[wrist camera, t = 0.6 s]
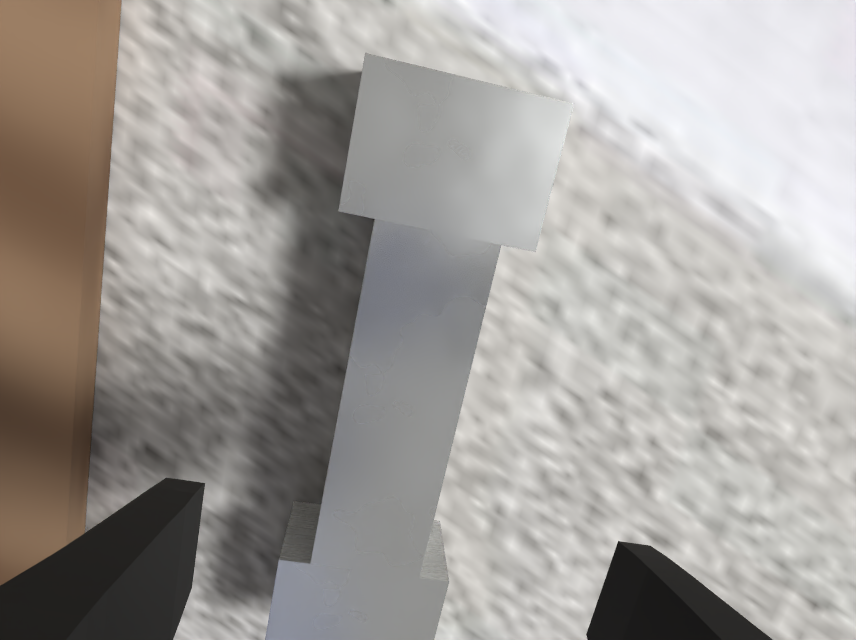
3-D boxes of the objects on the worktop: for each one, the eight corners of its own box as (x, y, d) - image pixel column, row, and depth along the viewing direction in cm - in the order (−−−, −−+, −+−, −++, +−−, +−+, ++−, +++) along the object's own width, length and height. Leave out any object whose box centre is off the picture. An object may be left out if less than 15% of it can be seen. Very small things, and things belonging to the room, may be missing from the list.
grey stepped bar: (418, 605, 21) (423, 677, 18) (279, 588, 20) (261, 660, 17) (541, 112, 17) (574, 103, 14) (368, 72, 16) (365, 53, 13)
